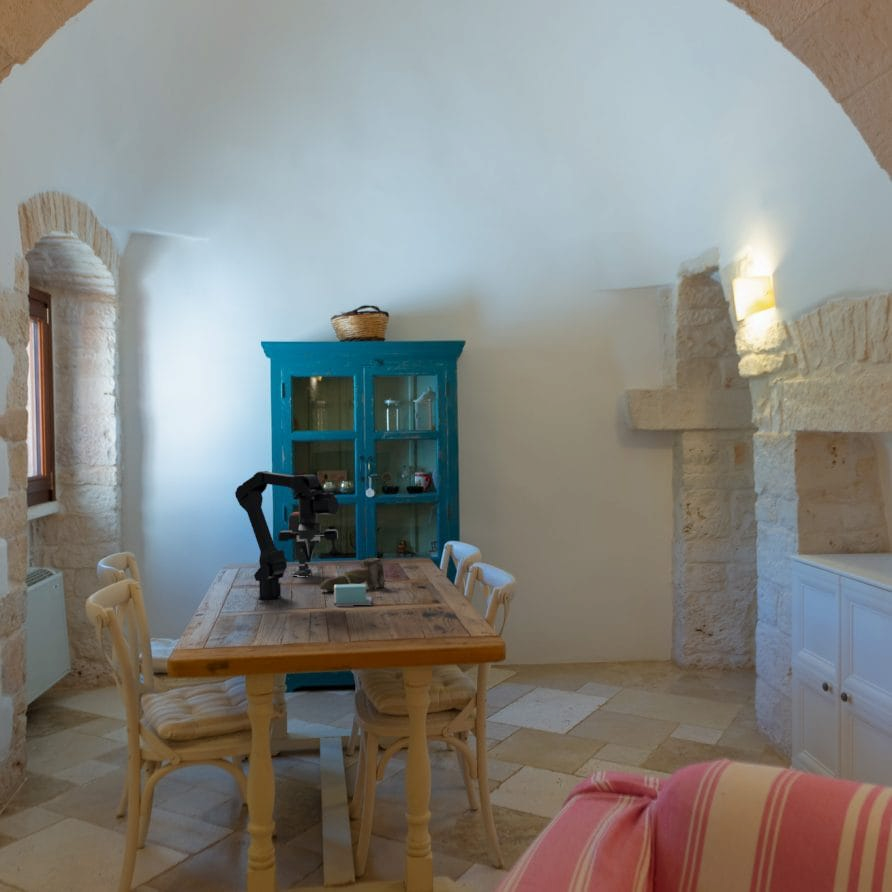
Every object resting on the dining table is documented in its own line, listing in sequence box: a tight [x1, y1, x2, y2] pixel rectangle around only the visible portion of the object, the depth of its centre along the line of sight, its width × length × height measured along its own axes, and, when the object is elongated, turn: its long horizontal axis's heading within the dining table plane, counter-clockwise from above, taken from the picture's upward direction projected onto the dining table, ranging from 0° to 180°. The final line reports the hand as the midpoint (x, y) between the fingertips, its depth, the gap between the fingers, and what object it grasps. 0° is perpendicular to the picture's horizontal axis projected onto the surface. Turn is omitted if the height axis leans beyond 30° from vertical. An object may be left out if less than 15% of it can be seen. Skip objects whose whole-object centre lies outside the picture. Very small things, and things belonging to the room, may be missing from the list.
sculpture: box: [319, 557, 386, 593], centre depth 292 cm, size 8×22×15 cm
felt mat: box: [335, 596, 373, 607], centre depth 269 cm, size 11×12×1 cm
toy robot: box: [287, 500, 313, 576], centre depth 322 cm, size 22×9×30 cm, turn 178°
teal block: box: [333, 583, 367, 604], centre depth 269 cm, size 5×5×10 cm
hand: (309, 561), depth 271 cm, fingers closed
